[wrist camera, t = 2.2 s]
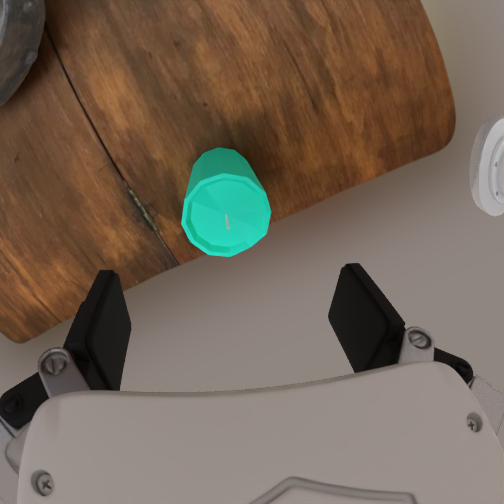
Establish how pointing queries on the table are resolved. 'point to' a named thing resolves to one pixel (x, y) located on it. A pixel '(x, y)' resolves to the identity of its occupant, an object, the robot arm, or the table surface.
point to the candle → (224, 204)
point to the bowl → (18, 41)
